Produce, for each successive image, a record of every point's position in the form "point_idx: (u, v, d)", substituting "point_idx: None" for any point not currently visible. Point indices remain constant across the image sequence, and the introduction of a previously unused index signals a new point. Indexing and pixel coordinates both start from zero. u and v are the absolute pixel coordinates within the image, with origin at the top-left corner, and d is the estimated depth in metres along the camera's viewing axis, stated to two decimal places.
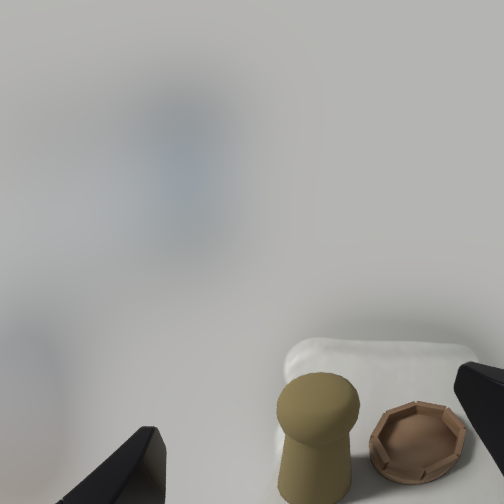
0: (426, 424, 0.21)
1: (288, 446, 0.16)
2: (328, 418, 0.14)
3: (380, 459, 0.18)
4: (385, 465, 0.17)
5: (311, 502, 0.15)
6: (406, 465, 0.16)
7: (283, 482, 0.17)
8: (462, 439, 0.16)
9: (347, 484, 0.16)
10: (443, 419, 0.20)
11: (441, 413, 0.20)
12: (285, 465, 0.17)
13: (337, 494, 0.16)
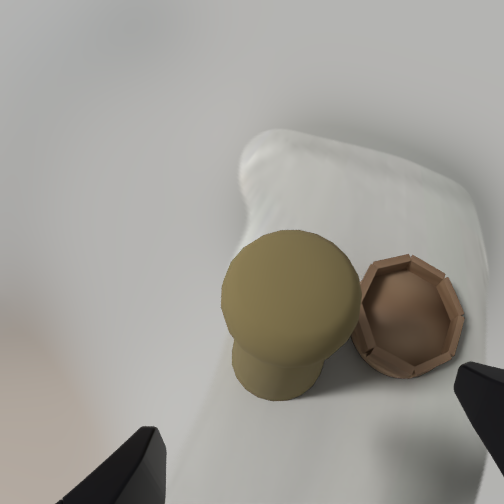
0: (419, 290, 0.20)
1: None
2: (311, 346, 0.09)
3: (363, 339, 0.17)
4: (368, 350, 0.17)
5: (274, 397, 0.16)
6: (394, 357, 0.16)
7: (238, 369, 0.16)
8: (458, 332, 0.17)
9: (319, 372, 0.17)
10: (437, 288, 0.20)
11: (438, 281, 0.19)
12: (239, 357, 0.14)
13: (307, 387, 0.16)
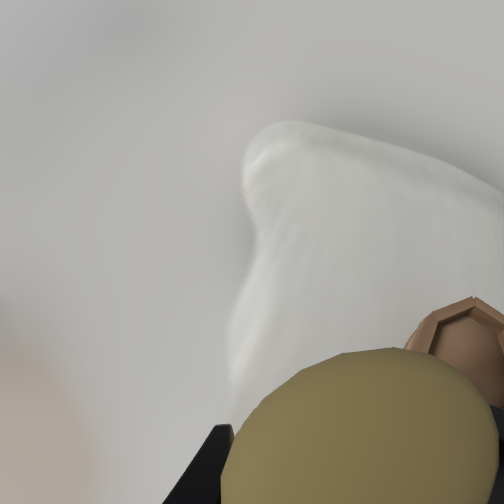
0: (479, 343, 0.13)
1: None
2: None
3: None
4: None
5: None
6: None
7: None
8: None
9: None
10: (498, 336, 0.13)
11: (501, 329, 0.12)
12: None
13: None
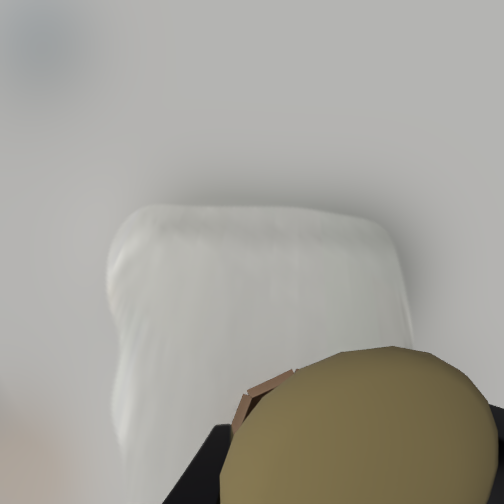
0: None
1: None
2: None
3: None
4: None
5: None
6: None
7: None
8: None
9: None
10: None
11: None
12: None
13: None
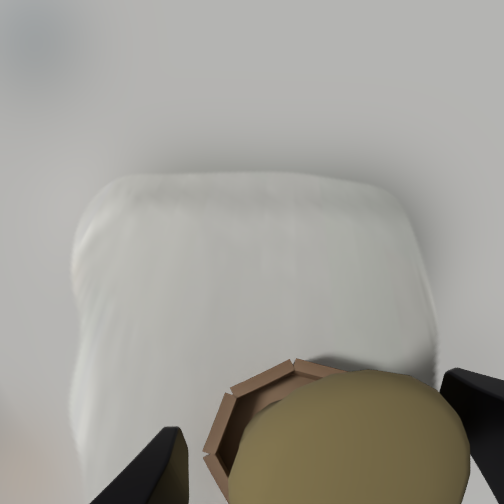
0: None
1: None
2: None
3: (226, 498, 0.10)
4: None
5: None
6: None
7: None
8: None
9: None
10: None
11: None
12: None
13: None
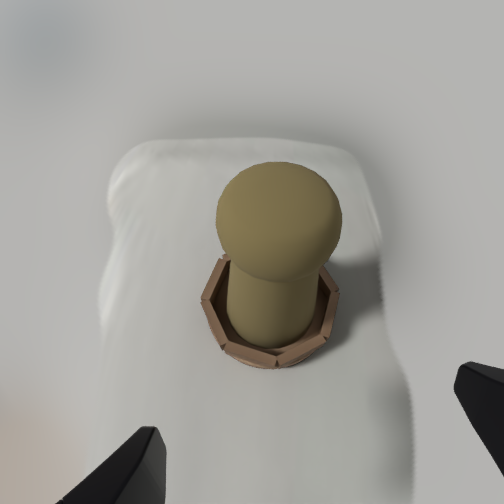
0: None
1: (235, 271, 0.14)
2: (295, 247, 0.10)
3: (215, 336, 0.18)
4: (223, 346, 0.18)
5: (267, 342, 0.18)
6: (250, 350, 0.17)
7: (232, 312, 0.18)
8: (333, 310, 0.19)
9: (310, 319, 0.18)
10: None
11: None
12: (233, 294, 0.16)
13: (298, 333, 0.18)
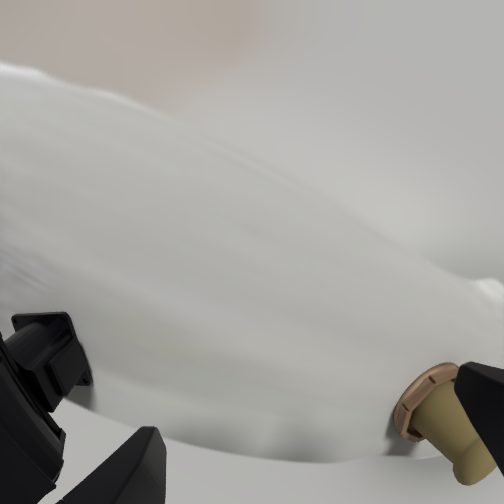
0: None
1: None
2: (471, 474, 0.12)
3: (440, 377, 0.21)
4: (433, 380, 0.21)
5: (421, 406, 0.21)
6: (423, 397, 0.21)
7: (448, 394, 0.20)
8: (410, 438, 0.22)
9: (415, 428, 0.22)
10: None
11: None
12: (460, 409, 0.18)
13: (414, 422, 0.22)
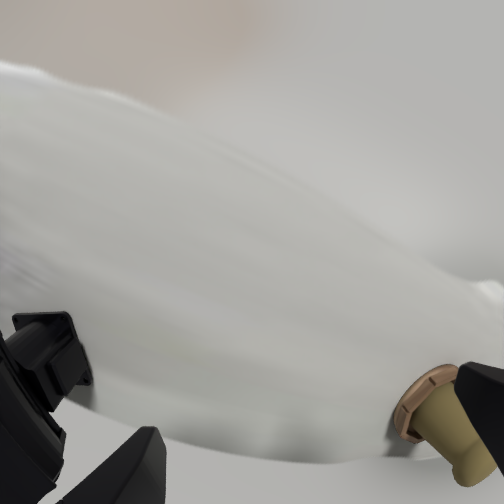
0: None
1: (472, 426, 0.16)
2: (470, 476, 0.12)
3: (440, 379, 0.21)
4: (433, 382, 0.21)
5: (421, 407, 0.21)
6: (423, 399, 0.21)
7: (448, 396, 0.20)
8: (410, 440, 0.22)
9: (415, 429, 0.22)
10: None
11: None
12: (460, 410, 0.18)
13: (413, 423, 0.21)
